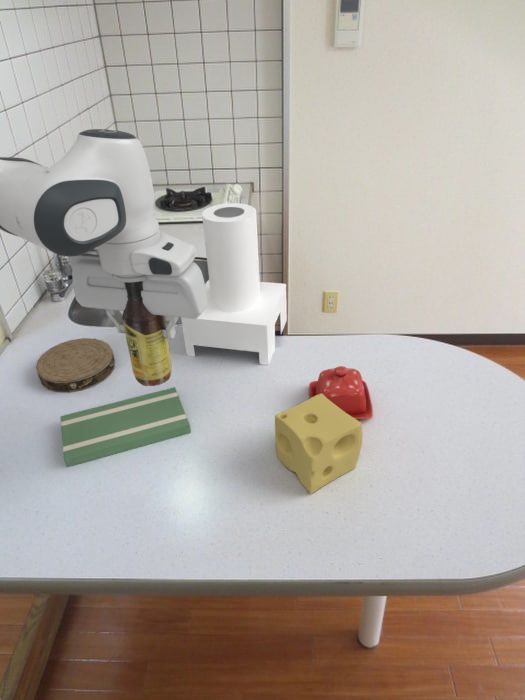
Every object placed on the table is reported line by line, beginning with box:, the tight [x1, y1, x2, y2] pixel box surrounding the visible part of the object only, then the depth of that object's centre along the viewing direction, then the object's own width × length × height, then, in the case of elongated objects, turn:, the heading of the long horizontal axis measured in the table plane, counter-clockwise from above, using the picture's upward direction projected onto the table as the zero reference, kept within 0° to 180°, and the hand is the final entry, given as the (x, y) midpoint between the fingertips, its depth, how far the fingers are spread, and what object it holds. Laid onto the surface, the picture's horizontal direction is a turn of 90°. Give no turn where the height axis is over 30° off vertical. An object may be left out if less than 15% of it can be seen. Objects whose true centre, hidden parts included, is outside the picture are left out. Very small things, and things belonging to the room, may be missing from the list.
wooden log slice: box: [35, 337, 116, 394], centre depth 113 cm, size 16×16×3 cm
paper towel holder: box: [180, 202, 288, 366], centre depth 114 cm, size 19×19×30 cm
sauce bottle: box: [122, 281, 172, 387], centre depth 81 cm, size 6×6×20 cm
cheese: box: [274, 394, 363, 495], centre depth 86 cm, size 10×11×10 cm
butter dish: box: [308, 365, 374, 420], centre depth 99 cm, size 12×12×8 cm
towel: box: [60, 386, 192, 468], centre depth 97 cm, size 22×12×2 cm, turn 111°
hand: (147, 334), depth 82 cm, fingers closed on sauce bottle, 6 cm apart
